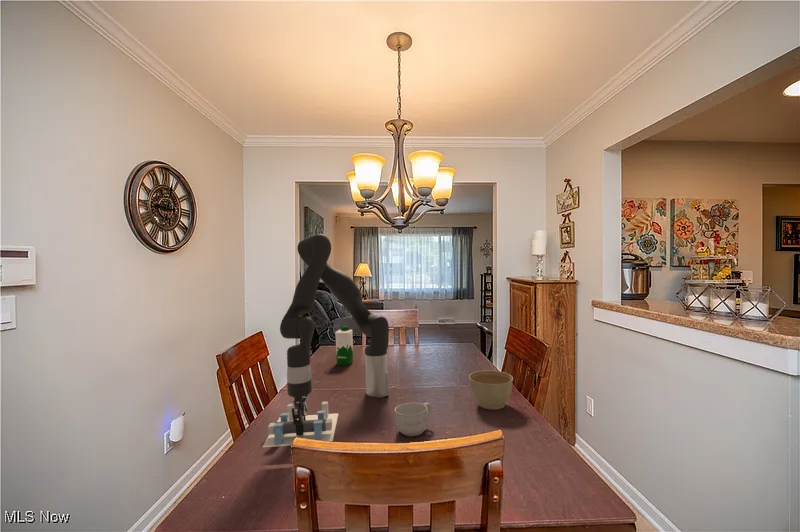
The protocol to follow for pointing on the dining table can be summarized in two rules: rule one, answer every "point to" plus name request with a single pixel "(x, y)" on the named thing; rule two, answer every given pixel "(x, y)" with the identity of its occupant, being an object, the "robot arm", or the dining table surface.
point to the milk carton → (344, 346)
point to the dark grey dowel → (307, 426)
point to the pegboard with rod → (318, 434)
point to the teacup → (412, 418)
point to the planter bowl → (491, 388)
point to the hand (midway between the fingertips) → (301, 431)
